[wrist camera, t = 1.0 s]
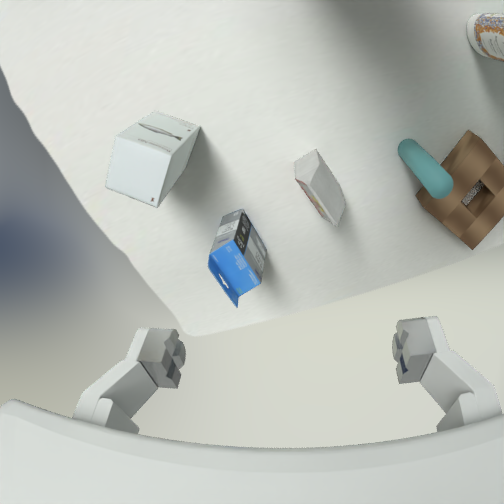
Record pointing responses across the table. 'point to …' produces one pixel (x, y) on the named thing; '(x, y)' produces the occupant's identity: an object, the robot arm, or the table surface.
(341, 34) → the table surface
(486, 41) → the bath foam
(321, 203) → the white carton
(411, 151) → the peg
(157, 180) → the supplement box
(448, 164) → the socket block
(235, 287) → the label tape box
